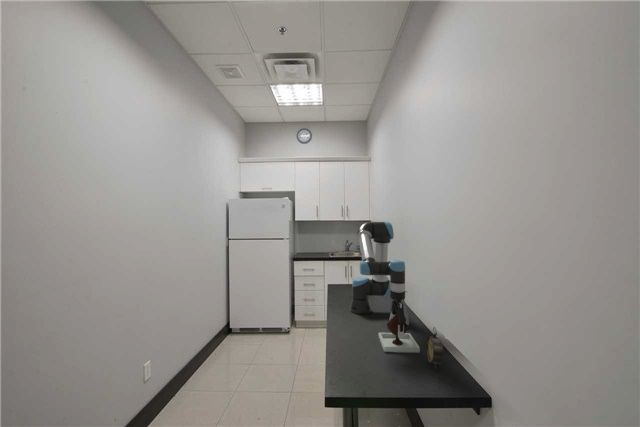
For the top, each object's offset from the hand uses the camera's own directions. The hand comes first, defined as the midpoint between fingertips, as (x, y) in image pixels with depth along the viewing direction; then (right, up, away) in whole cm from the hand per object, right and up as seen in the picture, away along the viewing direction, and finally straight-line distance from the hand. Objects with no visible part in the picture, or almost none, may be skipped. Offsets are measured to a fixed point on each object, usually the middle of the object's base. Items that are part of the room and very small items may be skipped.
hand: (397, 332), depth 140 cm
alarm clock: (+11, -6, -20) cm, 23 cm away
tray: (0, -6, 0) cm, 6 cm away
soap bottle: (+10, -8, +30) cm, 33 cm away
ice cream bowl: (0, -6, 0) cm, 6 cm away
